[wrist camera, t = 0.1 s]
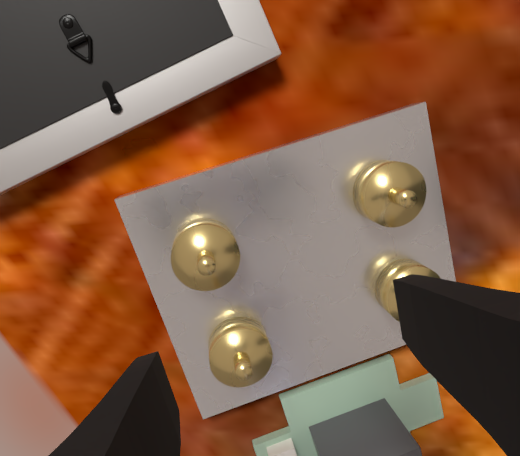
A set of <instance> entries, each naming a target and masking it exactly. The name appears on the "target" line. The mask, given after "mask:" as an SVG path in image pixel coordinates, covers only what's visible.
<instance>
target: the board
mask: <svg viewBox="0 0 520 456" xmlns="http://www.w3.org/2000/svg"><path fill="white" fill-rule="evenodd" d="M279 397H280V400H281V403H282V406H283V409H284V412H285V415H286V418H287V421H288V424H289V426H288V427H285V428H282V429H280V430H277V431H274V432H272V433H269V434H267V435H264V436H261V437H259V438H256V439H253V440H252V442H253V447H254V450H255V452H256V455H257V456H422V453H421V449H420V446H419V445H418V444H417V442H416V441H415V440H414V438H413V437H412V435H411V434H410V431H411V430H414V429H416V428H419V427H422V426H424V425H427V424H429V423H432V422H434V421H437V420H440V419H442V418H444V415H443V410H442V405H441V400H440V395H439V390H438V385H437V380H436V379H435V378H434V377H433V376H432V375H431V374H430V373H428V374H425V375H423V376H420V377H417V378H415V379H412V380H410V381H407V382H404V383H402V384H399V381H398V377H397V372H396V368H395V364H394V359H393V357H392V356H391V355H390V354H387V355H384V356H381V357H378V358H376V359H373V360H370V361H368V362H365V363H362V364H359V365H357V366H354V367H351V368H349V369H346V370H343V371H341V372H338V373H335V374H332V375H330V376H327V377H324V378H322V379H319V380H316V381H314V382H311V383H308V384H305V385H303V386H300V387H297V388H295V389H292V390H289V391H286V392H284V393H281V394H279Z"/></svg>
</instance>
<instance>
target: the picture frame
mask: <svg viewBox="0 0 520 456" xmlns="http://www.w3.org/2000/svg"><path fill="white" fill-rule="evenodd" d="M280 55H281V51H280V49H279V47H278V44H277V42H276V40H275V37H274V35H273V32H272V30H271V28H270V25H269V23H268V20H267V18H266V16H265V13H264V11H263V8H262V6H261V4H260V1H259V0H0V195H2V194H4V193H6V192H8V191H10V190H12V189H14V188H16V187H18V186H20V185H22V184H24V183H26V182H28V181H30V180H32V179H34V178H36V177H38V176H40V175H42V174H44V173H46V172H48V171H51V170H53V169H55V168H57V167H59V166H61V165H63V164H65V163H67V162H69V161H71V160H73V159H75V158H77V157H79V156H81V155H83V154H85V153H87V152H89V151H91V150H93V149H95V148H97V147H99V146H101V145H103V144H105V143H107V142H109V141H111V140H113V139H115V138H117V137H120V136H122V135H124V134H126V133H128V132H130V131H132V130H134V129H136V128H138V127H140V126H142V125H144V124H146V123H148V122H150V121H152V120H154V119H156V118H158V117H160V116H162V115H164V114H166V113H168V112H170V111H172V110H174V109H176V108H178V107H180V106H182V105H185V104H187V103H189V102H191V101H193V100H195V99H197V98H199V97H201V96H203V95H205V94H207V93H209V92H211V91H213V90H215V89H217V88H219V87H221V86H223V85H225V84H227V83H229V82H231V81H233V80H235V79H237V78H239V77H241V76H243V75H245V74H247V73H249V72H252V71H254V70H256V69H258V68H260V67H262V66H264V65H266V64H268V63H270V62H272V61H274V60H276V59H277V58H278V57H279V56H280Z"/></svg>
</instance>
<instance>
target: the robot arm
mask: <svg viewBox="0 0 520 456" xmlns="http://www.w3.org/2000/svg"><path fill="white" fill-rule="evenodd" d="M393 285H394V291H395V297H396V303H397V309H398V315H399V321H400V327H401V333H402V339H403V340H404V342H405V343H406V344H407V346H408V347H409V349H410V350H411V351H412V353H413V354H414V355H415V357H416V358H417V359H418V361H419V362H420V363H421V364H422V365H423V367H424V368H425V369H426V370H427V371H428V372H429V373H430V374H431V375H432V376H433V377H434V378H435V379H436V380H437V381H438V382H439V383H440V384H441V385H442V386H443V387H444V388H445V389H446V390H447V391H448V392H449V393H450V394H451V395H452V396H453V397H454V398H455V399H456V400H457V401H458V402H459V403H460V404H461V405H462V406H463V407H464V408H465V409H466V410H467V411H468V412H469V413H470V414H471V415H472V416H473V417H474V418H475V419H476V420H477V421H478V422H479V423H480V424H481V425H482V427H483V428H484V429H485V430H486V431H487V432H488V433H489V434H490V435H491V436H492V438H493V439H494V440H495V441H496V443H497V444H498V445H499V446H500V447H501V449H502V450H503V451H504V452H505V454H506V455H507V456H520V293H515V292H509V291H503V290H496V289H490V288H485V287H479V286H474V285H469V284H464V283H459V282H454V281H449V280H445V279H440V278H435V277H429V276H423V275H415V274H411V275H407V276H404V277H401V278H398V279H394V280H393ZM180 446H181V439H180V418H179V409H178V406H177V403H176V400H175V397H174V395H173V392H172V389H171V386H170V383H169V381H168V378H167V375H166V372H165V369H164V367H163V364H162V361H161V358H160V355H159V353H158V351H157V352H154V353H151V354H148V355H144V356H141V357H138V358H136V359H135V360H134V361H133V362H132V364H131V365H130V366H129V367H128V368H127V369H126V371H125V372H124V373H123V374H122V376H121V377H120V378H119V379H118V381H117V382H116V383H115V384H114V385H113V387H112V388H111V389H110V390H109V391H108V393H107V394H106V395H105V396H104V398H103V399H102V400H101V401H100V402H99V404H98V405H97V406H96V407H95V408H94V409H93V410H92V411H91V412H90V414H89V415H88V416H87V417H86V418H85V419H84V420H83V421H82V422H81V424H80V425H79V426H78V427H77V428H76V429H75V430H74V431H73V432H72V433H71V434H70V435H69V436H68V437H67V438H66V440H65V441H63V442H62V443H61V444H60V445H59V446H58V447H57V448H56V449H55V450H54V451H53V452H52V453H51V454H50V455H49V456H180Z"/></svg>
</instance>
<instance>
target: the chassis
mask: <svg viewBox="0 0 520 456" xmlns="http://www.w3.org/2000/svg"><path fill="white" fill-rule="evenodd" d="M115 202H116V205H117V207H118V210H119V212H120V215H121V217H122V220H123V222H124V225H125V227H126V230H127V232H128V235H129V237H130V240H131V242H132V245H133V247H134V249H135V252H136V254H137V257H138V259H139V262H140V264H141V267H142V269H143V272H144V274H145V277H146V279H147V282H148V284H149V287H150V289H151V292H152V294H153V296H154V299H155V301H156V304H157V306H158V309H159V311H160V314H161V316H162V319H163V321H164V324H165V326H166V329H167V331H168V334H169V336H170V339H171V341H172V343H173V346H174V348H175V351H176V353H177V356H178V358H179V361H180V363H181V366H182V368H183V371H184V373H185V376H186V378H187V381H188V383H189V386H190V388H191V391H192V393H193V395H194V398H195V400H196V403H197V405H198V408H199V410H200V413H201V415H202V418H203V419H206V418H208V417H211V416H214V415H216V414H219V413H222V412H225V411H227V410H230V409H233V408H235V407H238V406H241V405H244V404H246V403H249V402H252V401H254V400H257V399H260V398H262V397H265V396H268V395H271V394H273V393H276V392H279V391H281V390H284V389H287V388H290V387H292V386H295V385H298V384H300V383H303V382H306V381H309V380H311V379H314V378H317V377H319V376H322V375H325V374H328V373H330V372H333V371H336V370H338V369H341V368H344V367H346V366H349V365H352V364H355V363H357V362H360V361H363V360H365V359H368V358H371V357H374V356H376V355H379V354H382V353H384V352H387V351H390V350H393V349H395V348H398V347H401V346H403V345H406V343H405V342H404V340H403V339H402V333H401V327H400V321H399V315H398V309H397V303H396V297H395V291H394V285H393V280H394V279H398V278H401V277H404V276H407V275H411V274H415V275H423V276H429V277H435V278H440V279H445V280H449V281H454V282H456V280H455V274H454V268H453V262H452V256H451V250H450V244H449V238H448V232H447V226H446V220H445V214H444V208H443V202H442V196H441V190H440V184H439V178H438V172H437V166H436V160H435V154H434V148H433V142H432V136H431V130H430V124H429V118H428V112H427V106H426V102H420V103H414V104H411V105H408V106H405V107H401V108H398V109H395V110H392V111H389V112H385V113H382V114H379V115H376V116H373V117H370V118H366V119H363V120H360V121H357V122H354V123H350V124H347V125H344V126H341V127H338V128H334V129H331V130H328V131H325V132H322V133H319V134H315V135H312V136H309V137H306V138H303V139H299V140H296V141H293V142H290V143H287V144H284V145H280V146H277V147H274V148H271V149H268V150H264V151H261V152H258V153H255V154H252V155H248V156H245V157H242V158H239V159H236V160H233V161H229V162H226V163H223V164H220V165H217V166H213V167H210V168H207V169H204V170H201V171H198V172H194V173H191V174H188V175H185V176H182V177H178V178H175V179H172V180H169V181H166V182H163V183H159V184H156V185H153V186H150V187H147V188H143V189H140V190H137V191H134V192H131V193H127V194H124V195H121V196H118V197H117V198H116V199H115Z"/></svg>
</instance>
